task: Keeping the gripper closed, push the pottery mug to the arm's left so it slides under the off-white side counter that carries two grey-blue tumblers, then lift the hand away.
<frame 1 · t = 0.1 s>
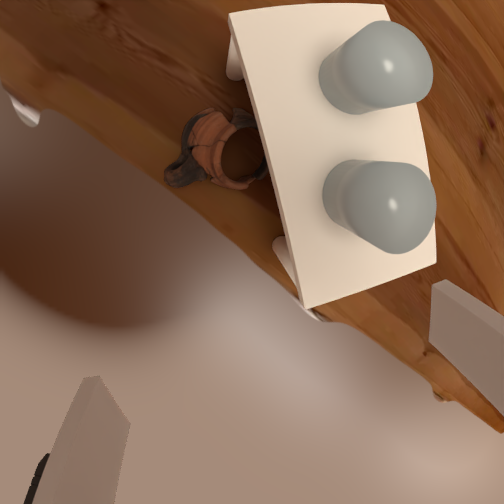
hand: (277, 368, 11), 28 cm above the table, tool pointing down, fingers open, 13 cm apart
side counter: (306, 147, 35), on the table
tumbler B: (354, 194, 24), point 14 cm above the table, touching side counter
tumbler A: (351, 81, 21), point 14 cm above the table, touching side counter
pottery mug: (215, 152, 35), on the table
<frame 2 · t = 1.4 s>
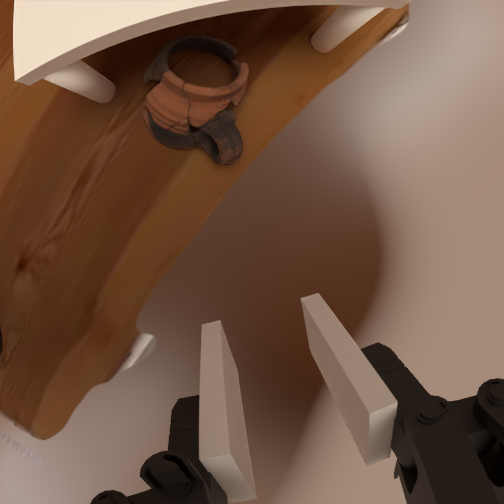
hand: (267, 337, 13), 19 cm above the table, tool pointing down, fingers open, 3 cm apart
side counter: (201, 11, 23), on the table
pottery mug: (199, 109, 27), on the table
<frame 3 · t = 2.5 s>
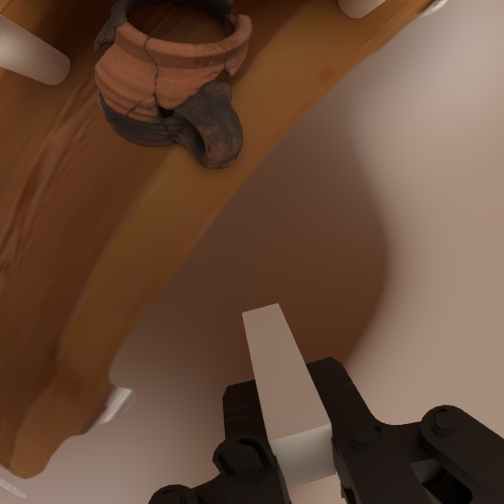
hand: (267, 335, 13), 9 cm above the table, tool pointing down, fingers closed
pottery mug: (179, 89, 18), on the table
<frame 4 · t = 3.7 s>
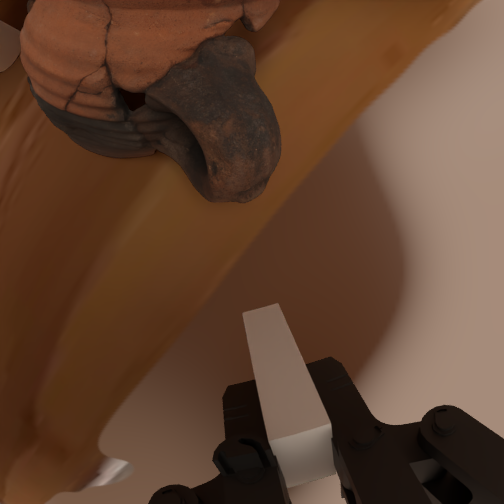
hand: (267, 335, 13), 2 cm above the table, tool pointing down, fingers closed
pottery mug: (167, 67, 11), on the table
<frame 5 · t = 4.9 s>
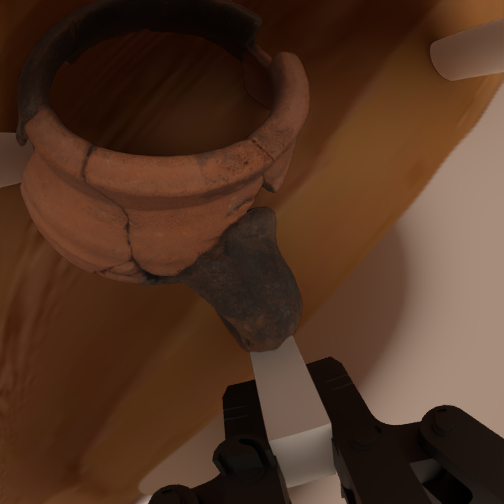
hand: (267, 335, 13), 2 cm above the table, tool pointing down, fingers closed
pottery mug: (178, 173, 12), on the table, touching gripper
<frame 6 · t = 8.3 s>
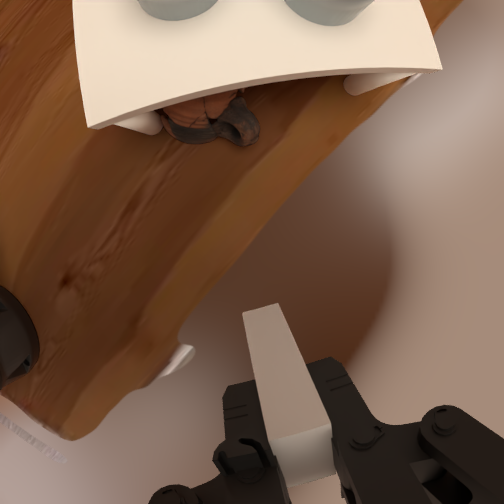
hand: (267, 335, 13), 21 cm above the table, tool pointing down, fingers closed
side counter: (244, 49, 27), on the table
pottery mug: (210, 105, 29), on the table
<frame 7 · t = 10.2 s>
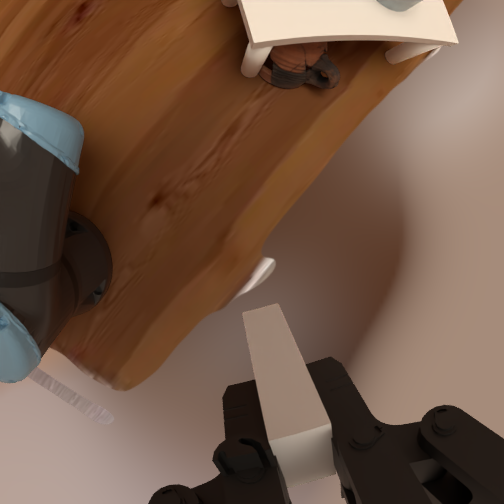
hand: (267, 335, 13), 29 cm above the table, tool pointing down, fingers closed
side counter: (316, 24, 34), on the table
pottery mug: (293, 62, 36), on the table
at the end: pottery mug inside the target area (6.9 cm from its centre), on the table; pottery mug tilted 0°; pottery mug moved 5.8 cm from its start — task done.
